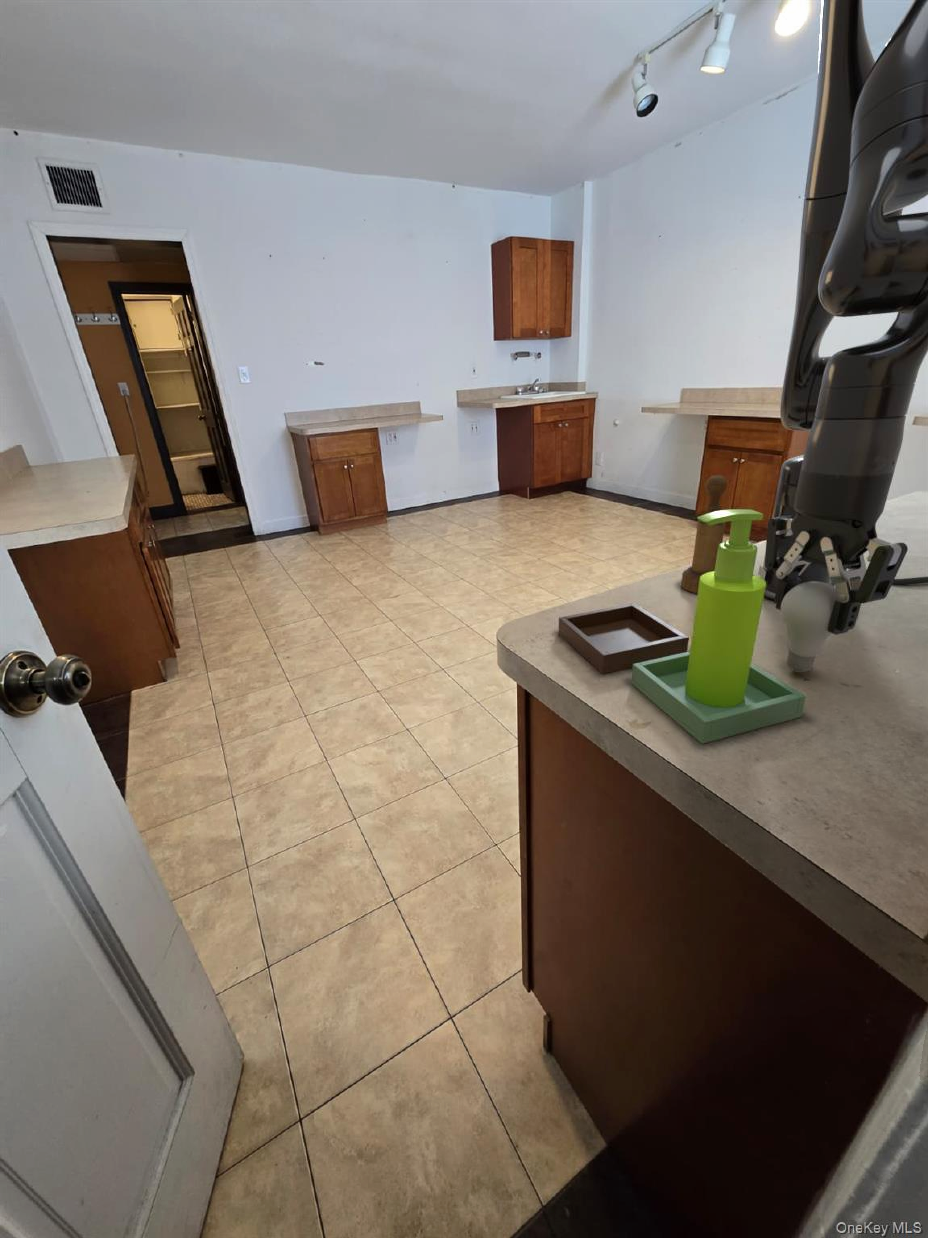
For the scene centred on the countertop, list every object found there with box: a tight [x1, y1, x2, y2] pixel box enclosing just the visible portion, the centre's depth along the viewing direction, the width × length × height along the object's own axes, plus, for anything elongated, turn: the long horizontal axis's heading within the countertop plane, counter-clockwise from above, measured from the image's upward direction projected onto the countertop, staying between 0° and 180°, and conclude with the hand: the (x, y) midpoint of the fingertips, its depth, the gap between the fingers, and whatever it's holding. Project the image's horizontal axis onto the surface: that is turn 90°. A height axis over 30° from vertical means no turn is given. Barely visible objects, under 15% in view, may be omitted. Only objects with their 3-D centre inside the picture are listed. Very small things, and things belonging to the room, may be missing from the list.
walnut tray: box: [558, 602, 690, 675], centre depth 68 cm, size 12×12×3 cm
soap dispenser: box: [685, 508, 766, 707], centre depth 52 cm, size 6×7×20 cm
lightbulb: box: [780, 581, 838, 673], centre depth 58 cm, size 6×6×11 cm
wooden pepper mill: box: [680, 475, 728, 594], centre depth 81 cm, size 7×6×18 cm
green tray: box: [631, 650, 807, 744], centre depth 56 cm, size 12×12×3 cm
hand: (809, 619), depth 57 cm, fingers closed on lightbulb, 6 cm apart
